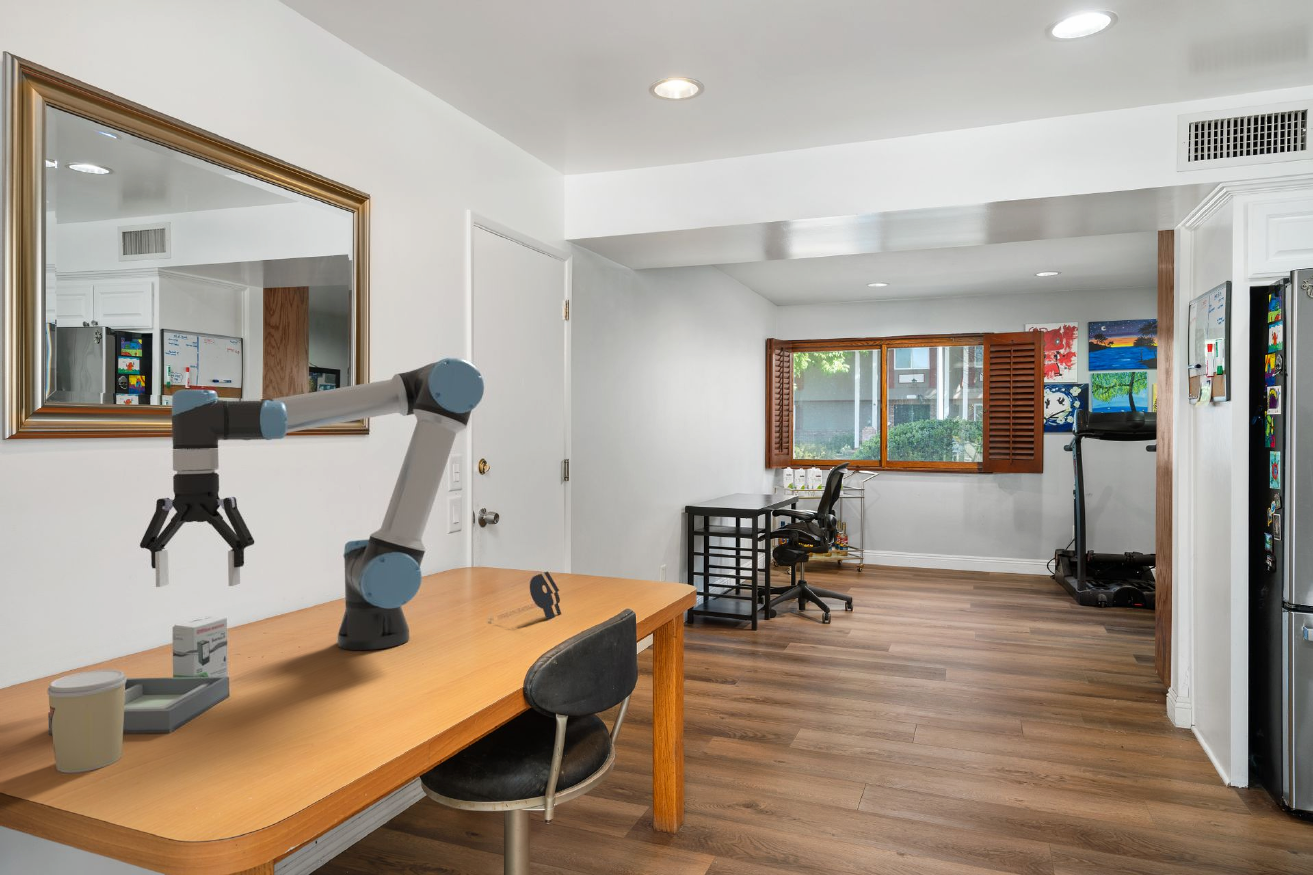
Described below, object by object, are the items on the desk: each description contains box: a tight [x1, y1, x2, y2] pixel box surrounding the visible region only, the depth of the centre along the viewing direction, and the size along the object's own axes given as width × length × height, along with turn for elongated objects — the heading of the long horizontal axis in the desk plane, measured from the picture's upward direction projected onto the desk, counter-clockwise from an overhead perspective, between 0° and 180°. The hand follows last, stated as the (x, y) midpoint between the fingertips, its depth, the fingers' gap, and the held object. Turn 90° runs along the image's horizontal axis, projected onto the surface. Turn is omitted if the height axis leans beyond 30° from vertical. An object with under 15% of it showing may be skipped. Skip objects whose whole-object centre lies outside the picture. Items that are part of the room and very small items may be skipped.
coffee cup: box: [46, 669, 127, 774], centre depth 119 cm, size 9×9×12 cm
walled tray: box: [48, 676, 230, 736], centre depth 139 cm, size 19×18×4 cm
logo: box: [487, 571, 562, 623], centre depth 206 cm, size 17×18×11 cm
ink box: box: [171, 616, 229, 678], centre depth 156 cm, size 9×5×12 cm, turn 165°
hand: (198, 585), depth 156 cm, fingers open, 13 cm apart
